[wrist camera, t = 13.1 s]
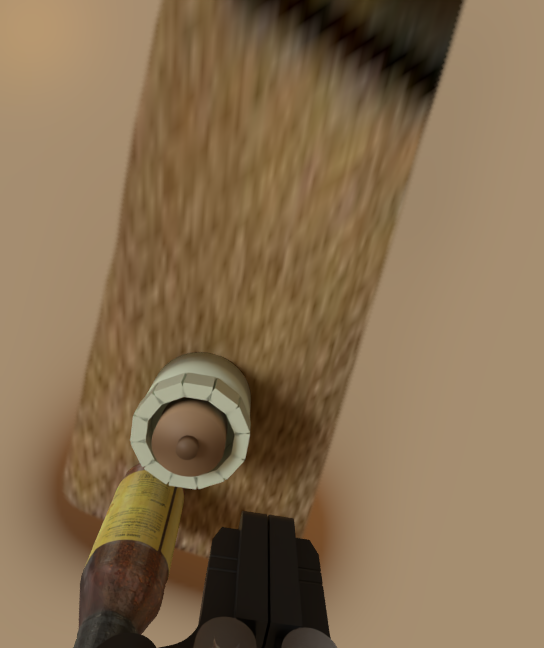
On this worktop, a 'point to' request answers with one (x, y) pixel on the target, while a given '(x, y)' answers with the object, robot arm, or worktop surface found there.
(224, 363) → the jar
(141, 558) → the sauce bottle
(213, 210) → the worktop surface
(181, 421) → the lid
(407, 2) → the worktop surface
